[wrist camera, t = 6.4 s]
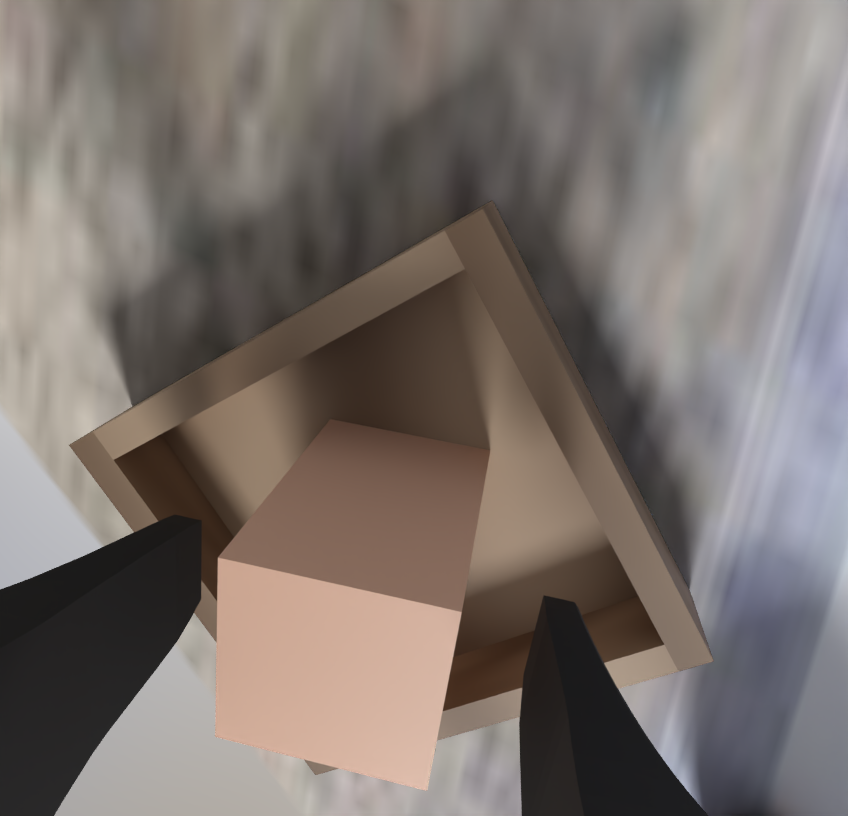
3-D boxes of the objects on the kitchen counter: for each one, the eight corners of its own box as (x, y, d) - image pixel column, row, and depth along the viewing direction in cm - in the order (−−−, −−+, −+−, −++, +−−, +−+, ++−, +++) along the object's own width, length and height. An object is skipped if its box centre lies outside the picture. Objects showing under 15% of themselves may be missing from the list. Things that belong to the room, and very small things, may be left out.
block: (490, 450, 15) (461, 611, 10) (464, 585, 17) (427, 790, 12) (330, 419, 16) (218, 556, 10) (318, 553, 17) (215, 736, 12)
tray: (492, 200, 14) (482, 208, 12) (690, 592, 17) (713, 661, 14) (130, 407, 17) (69, 444, 15) (341, 704, 20) (315, 775, 18)
